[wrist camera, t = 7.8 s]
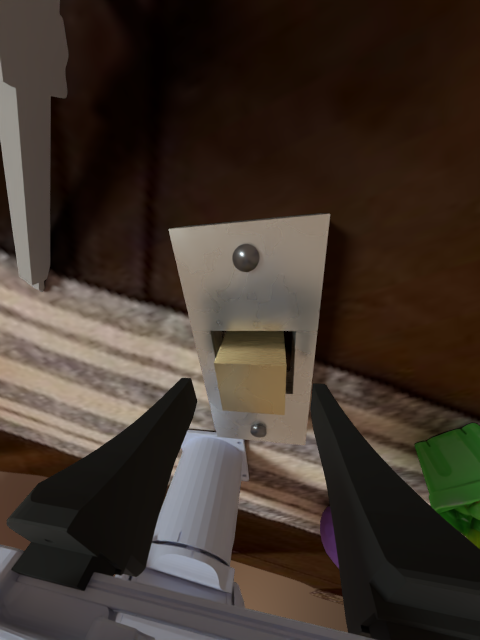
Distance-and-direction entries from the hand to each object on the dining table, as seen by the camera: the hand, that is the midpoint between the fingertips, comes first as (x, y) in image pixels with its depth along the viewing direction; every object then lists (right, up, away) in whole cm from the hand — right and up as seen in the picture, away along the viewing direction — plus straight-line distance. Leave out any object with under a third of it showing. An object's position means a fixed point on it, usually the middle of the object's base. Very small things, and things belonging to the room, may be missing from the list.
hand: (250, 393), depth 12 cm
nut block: (+1, +3, +4) cm, 5 cm away
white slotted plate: (+1, +2, +4) cm, 5 cm away
